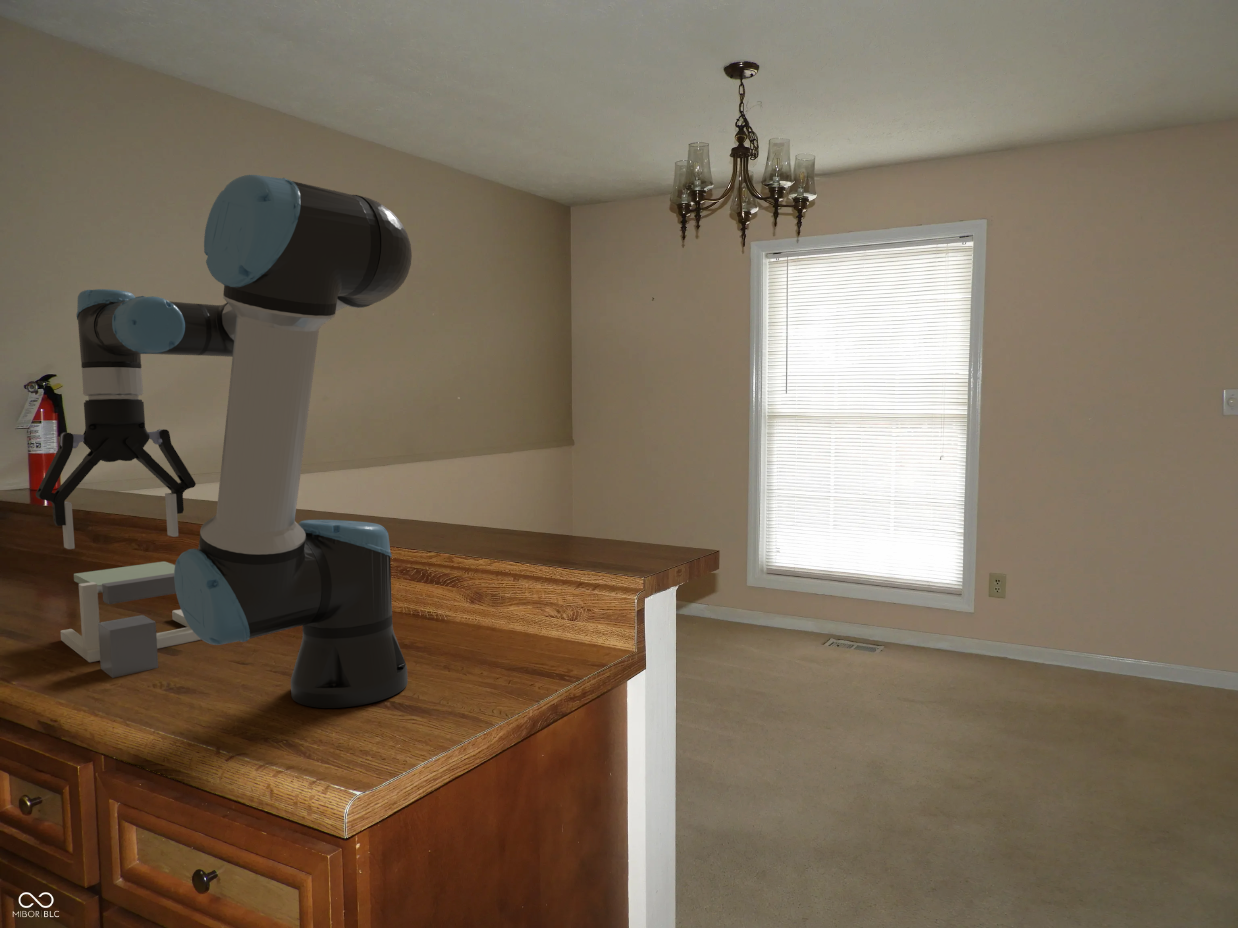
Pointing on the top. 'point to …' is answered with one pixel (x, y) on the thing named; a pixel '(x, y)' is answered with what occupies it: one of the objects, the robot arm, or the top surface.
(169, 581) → the trapdoor
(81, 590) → the stand
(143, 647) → the basalt block
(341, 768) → the top surface
